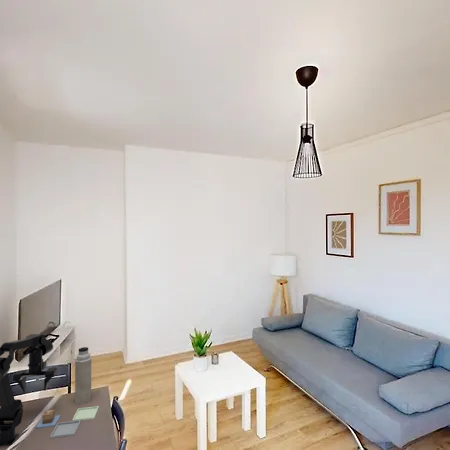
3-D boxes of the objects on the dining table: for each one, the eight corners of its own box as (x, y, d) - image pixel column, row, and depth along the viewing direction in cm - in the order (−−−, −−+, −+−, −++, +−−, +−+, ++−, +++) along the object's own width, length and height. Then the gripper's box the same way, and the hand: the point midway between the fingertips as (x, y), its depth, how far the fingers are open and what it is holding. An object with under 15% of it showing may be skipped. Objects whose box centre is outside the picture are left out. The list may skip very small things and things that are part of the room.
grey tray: (74, 436, 134) (74, 433, 134) (49, 439, 132) (49, 436, 133) (80, 422, 144) (80, 420, 144) (57, 425, 142) (57, 422, 142)
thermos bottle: (80, 396, 168) (80, 345, 170) (94, 396, 168) (94, 345, 169) (71, 404, 160) (72, 350, 162) (86, 404, 160) (86, 351, 161)
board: (54, 427, 141) (54, 424, 141) (35, 429, 140) (35, 427, 140) (60, 417, 149) (60, 415, 149) (42, 419, 147) (42, 417, 147)
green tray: (94, 419, 146) (94, 417, 146) (72, 422, 144) (72, 420, 144) (98, 408, 156) (98, 406, 156) (78, 410, 154) (78, 408, 154)
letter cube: (51, 422, 143) (51, 414, 143) (42, 424, 142) (42, 415, 142) (54, 418, 147) (54, 409, 147) (45, 419, 146) (45, 410, 146)
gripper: (61, 352, 161) (60, 381, 161) (22, 355, 158) (22, 385, 157) (53, 360, 150) (53, 392, 150) (11, 363, 147) (11, 396, 146)
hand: (35, 391), depth 151 cm, fingers open, 9 cm apart
